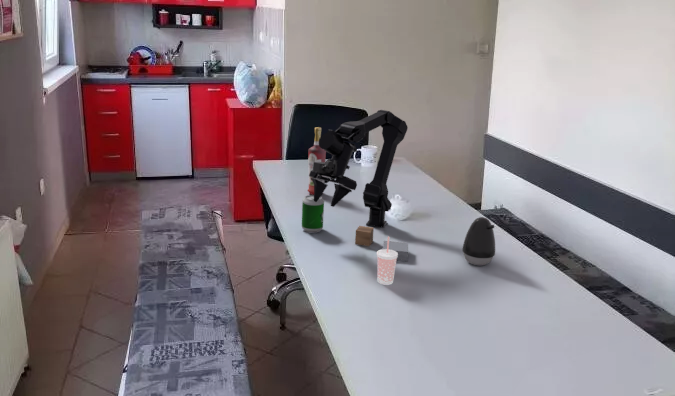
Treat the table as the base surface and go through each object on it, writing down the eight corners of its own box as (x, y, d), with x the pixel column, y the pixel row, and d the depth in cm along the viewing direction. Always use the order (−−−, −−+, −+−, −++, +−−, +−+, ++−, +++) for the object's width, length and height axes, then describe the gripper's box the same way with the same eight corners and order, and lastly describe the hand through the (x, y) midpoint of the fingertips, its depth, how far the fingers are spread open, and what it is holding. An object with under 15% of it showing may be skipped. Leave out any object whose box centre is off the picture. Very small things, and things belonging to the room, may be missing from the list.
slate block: (383, 250, 208) (383, 240, 207) (407, 252, 207) (408, 242, 206) (382, 259, 201) (382, 249, 200) (407, 262, 200) (408, 251, 199)
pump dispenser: (475, 271, 195) (481, 224, 190) (454, 258, 203) (459, 214, 199) (500, 266, 199) (506, 221, 195) (479, 254, 208) (484, 210, 203)
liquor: (327, 193, 266) (330, 127, 257) (317, 197, 260) (320, 130, 251) (313, 190, 269) (315, 125, 261) (303, 194, 263) (305, 127, 255)
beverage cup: (389, 287, 180) (393, 242, 176) (370, 282, 183) (374, 237, 179) (399, 280, 185) (403, 236, 181) (380, 275, 188) (384, 231, 184)
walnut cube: (358, 239, 216) (359, 225, 215) (372, 241, 215) (373, 227, 214) (355, 244, 212) (355, 230, 210) (369, 246, 210) (370, 232, 209)
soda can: (320, 234, 219) (321, 201, 215) (299, 232, 220) (300, 199, 216) (324, 227, 226) (326, 195, 222) (304, 225, 227) (305, 193, 223)
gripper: (305, 147, 209) (288, 191, 208) (341, 153, 195) (323, 200, 193) (329, 159, 216) (313, 202, 215) (365, 166, 202) (348, 212, 200)
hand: (323, 203), depth 206 cm, fingers open, 9 cm apart
